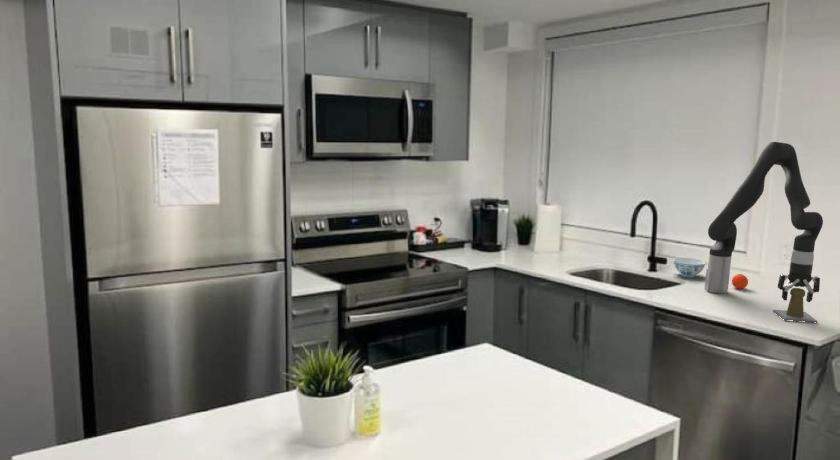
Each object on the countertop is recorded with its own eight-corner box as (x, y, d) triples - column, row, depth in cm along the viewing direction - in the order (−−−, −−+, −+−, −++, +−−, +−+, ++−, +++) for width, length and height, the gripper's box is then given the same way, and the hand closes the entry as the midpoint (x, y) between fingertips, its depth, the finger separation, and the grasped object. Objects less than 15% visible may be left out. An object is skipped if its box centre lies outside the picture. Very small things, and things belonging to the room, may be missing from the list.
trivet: (783, 321, 240) (783, 318, 240) (772, 311, 251) (773, 309, 251) (817, 323, 237) (817, 320, 237) (804, 314, 249) (805, 311, 249)
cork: (806, 317, 241) (809, 291, 239) (789, 316, 242) (792, 290, 240) (800, 313, 247) (803, 287, 245) (783, 312, 248) (787, 286, 246)
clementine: (733, 285, 292) (734, 271, 290) (749, 288, 287) (751, 273, 286) (729, 288, 286) (730, 274, 284) (745, 291, 281) (747, 276, 280)
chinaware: (683, 270, 319) (684, 256, 317) (710, 277, 307) (711, 262, 305) (665, 274, 311) (667, 259, 309) (692, 281, 298) (694, 265, 297)
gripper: (785, 262, 238) (780, 302, 241) (825, 265, 235) (820, 305, 238) (778, 258, 245) (773, 296, 248) (817, 260, 242) (812, 299, 245)
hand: (796, 300), depth 243 cm, fingers open, 8 cm apart
